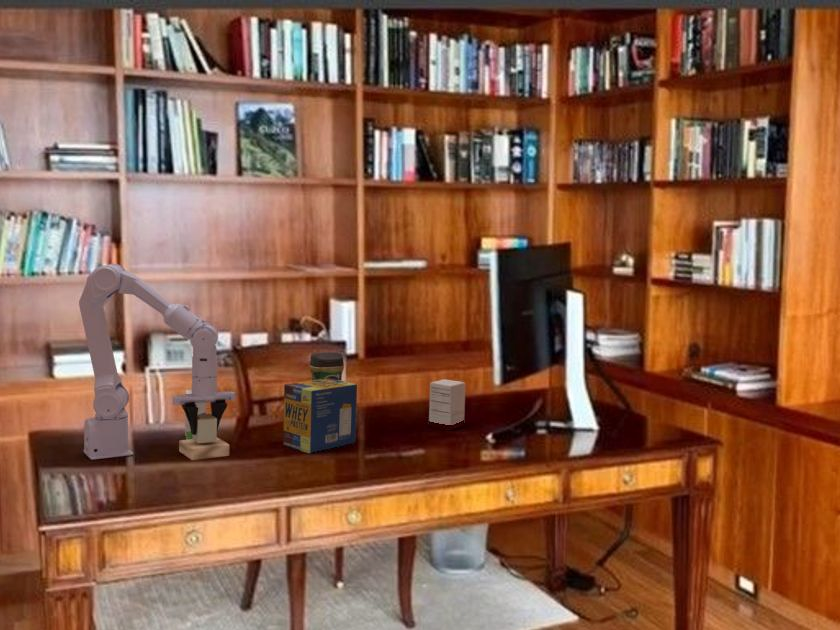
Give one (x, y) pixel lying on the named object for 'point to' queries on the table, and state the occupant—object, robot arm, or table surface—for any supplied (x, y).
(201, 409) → the ink box
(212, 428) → the sage box
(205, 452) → the maple block
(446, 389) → the supplement box
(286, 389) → the protein box
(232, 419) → the table surface
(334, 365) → the coffee jar
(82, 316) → the robot arm
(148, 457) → the table surface
